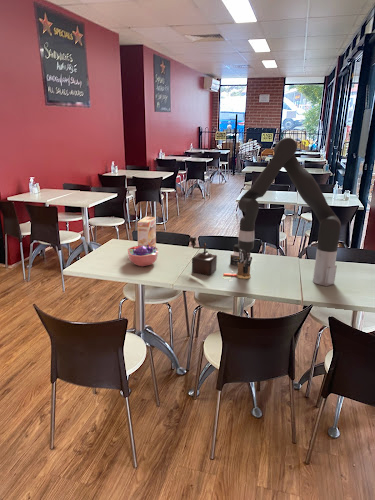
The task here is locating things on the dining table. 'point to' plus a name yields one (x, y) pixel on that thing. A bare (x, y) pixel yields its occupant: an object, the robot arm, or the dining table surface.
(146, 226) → the coffeecake box
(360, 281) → the dining table surface
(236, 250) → the medicine bottle
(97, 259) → the dining table surface
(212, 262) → the pepper mill
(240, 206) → the robot arm
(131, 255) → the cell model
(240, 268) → the brown block with rod
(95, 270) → the dining table surface
